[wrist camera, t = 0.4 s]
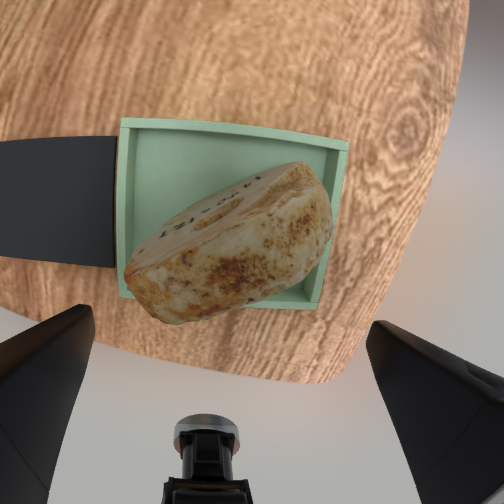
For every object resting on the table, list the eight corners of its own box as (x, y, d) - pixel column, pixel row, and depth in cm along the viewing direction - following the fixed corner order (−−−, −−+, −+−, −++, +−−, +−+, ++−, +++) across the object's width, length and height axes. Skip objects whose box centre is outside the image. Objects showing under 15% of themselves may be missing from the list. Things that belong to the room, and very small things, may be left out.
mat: (115, 265, 21) (113, 268, 20) (-8, 253, 19) (-11, 254, 19) (117, 135, 18) (115, 136, 17) (-15, 143, 16) (-18, 144, 16)
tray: (307, 293, 23) (316, 310, 21) (127, 281, 21) (119, 297, 19) (334, 140, 19) (350, 142, 17) (132, 119, 17) (120, 117, 15)
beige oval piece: (169, 271, 21) (140, 370, 12) (141, 223, 19) (86, 300, 10) (310, 204, 20) (383, 264, 11) (288, 152, 19) (356, 171, 10)
